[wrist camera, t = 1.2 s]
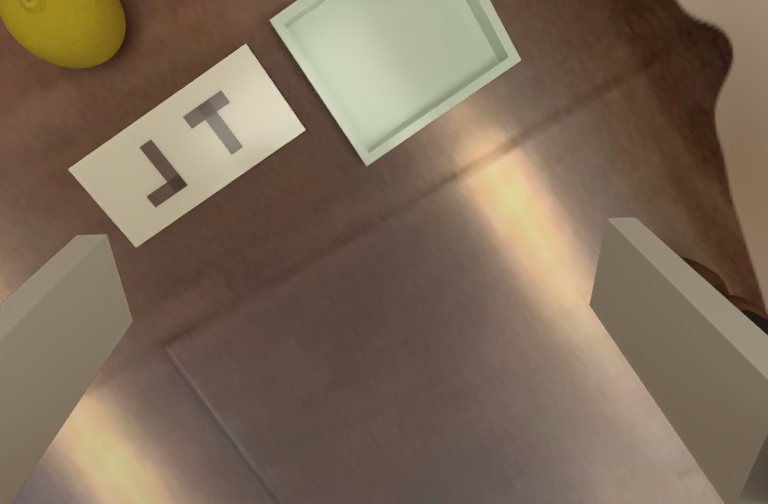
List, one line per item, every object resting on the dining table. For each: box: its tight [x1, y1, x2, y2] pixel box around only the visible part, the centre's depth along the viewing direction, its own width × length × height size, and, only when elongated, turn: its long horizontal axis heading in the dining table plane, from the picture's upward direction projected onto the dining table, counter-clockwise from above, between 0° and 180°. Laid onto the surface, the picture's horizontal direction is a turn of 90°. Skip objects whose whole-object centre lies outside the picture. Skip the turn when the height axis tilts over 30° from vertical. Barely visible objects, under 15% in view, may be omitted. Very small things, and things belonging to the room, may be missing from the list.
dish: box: [269, 0, 521, 166], centre depth 34 cm, size 12×10×3 cm
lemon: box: [0, 0, 126, 69], centre depth 28 cm, size 6×6×8 cm
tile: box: [68, 44, 306, 247], centre depth 34 cm, size 14×6×1 cm, turn 123°
